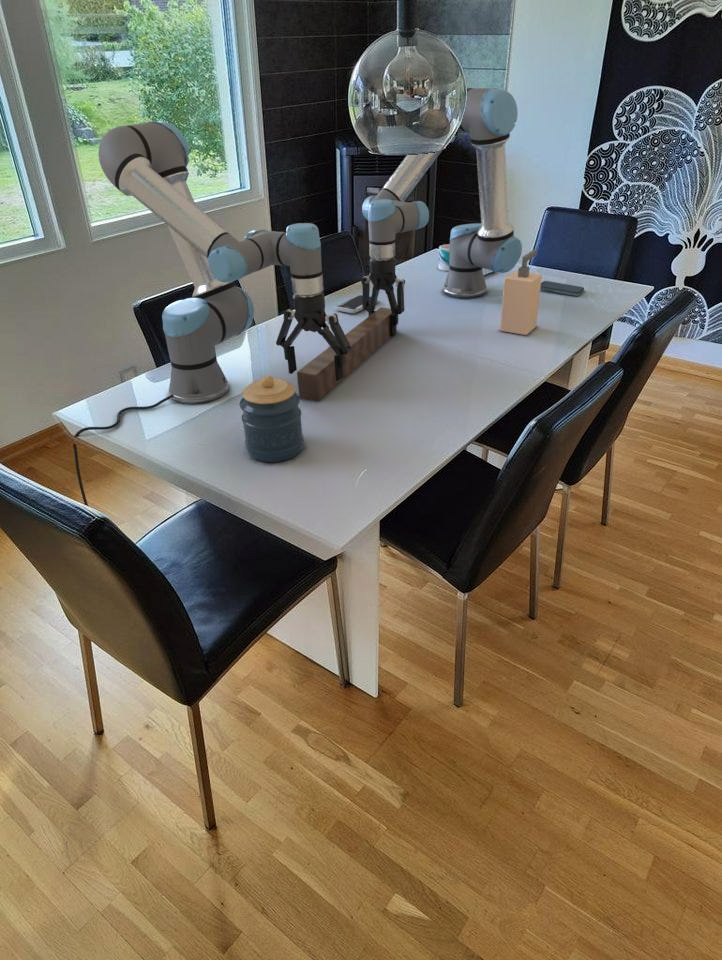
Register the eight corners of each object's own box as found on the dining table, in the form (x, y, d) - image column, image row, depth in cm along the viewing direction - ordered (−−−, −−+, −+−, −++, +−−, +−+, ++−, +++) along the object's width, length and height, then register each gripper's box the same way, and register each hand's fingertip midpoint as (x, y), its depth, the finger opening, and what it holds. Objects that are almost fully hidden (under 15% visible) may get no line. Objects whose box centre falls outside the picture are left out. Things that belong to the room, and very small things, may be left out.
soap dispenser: (526, 335, 203) (534, 261, 191) (499, 330, 207) (505, 258, 195) (541, 322, 212) (549, 251, 200) (515, 318, 216) (521, 248, 204)
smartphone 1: (378, 298, 234) (353, 310, 224) (378, 301, 235) (353, 314, 225) (360, 294, 238) (335, 306, 228) (360, 298, 239) (335, 310, 228)
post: (317, 401, 170) (315, 375, 166) (299, 398, 172) (296, 372, 169) (396, 331, 210) (396, 309, 206) (380, 329, 212) (380, 307, 208)
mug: (435, 269, 266) (435, 247, 261) (448, 261, 274) (449, 240, 270) (453, 271, 262) (454, 249, 258) (466, 264, 270) (467, 242, 266)
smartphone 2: (578, 293, 231) (536, 285, 238) (577, 297, 232) (536, 290, 239) (585, 287, 236) (544, 280, 243) (584, 291, 237) (543, 284, 244)
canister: (251, 467, 144) (240, 393, 134) (242, 439, 155) (232, 368, 145) (310, 457, 147) (303, 383, 137) (297, 430, 157) (291, 360, 148)
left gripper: (362, 292, 158) (366, 375, 170) (272, 284, 168) (281, 363, 179) (348, 302, 153) (353, 387, 164) (255, 293, 162) (266, 374, 174)
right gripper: (416, 256, 194) (415, 333, 207) (359, 251, 201) (361, 326, 214) (407, 263, 189) (406, 341, 201) (348, 258, 196) (351, 334, 208)
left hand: (315, 375), depth 172 cm, fingers open, 13 cm apart
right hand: (383, 333), depth 208 cm, fingers closed on post, 5 cm apart
